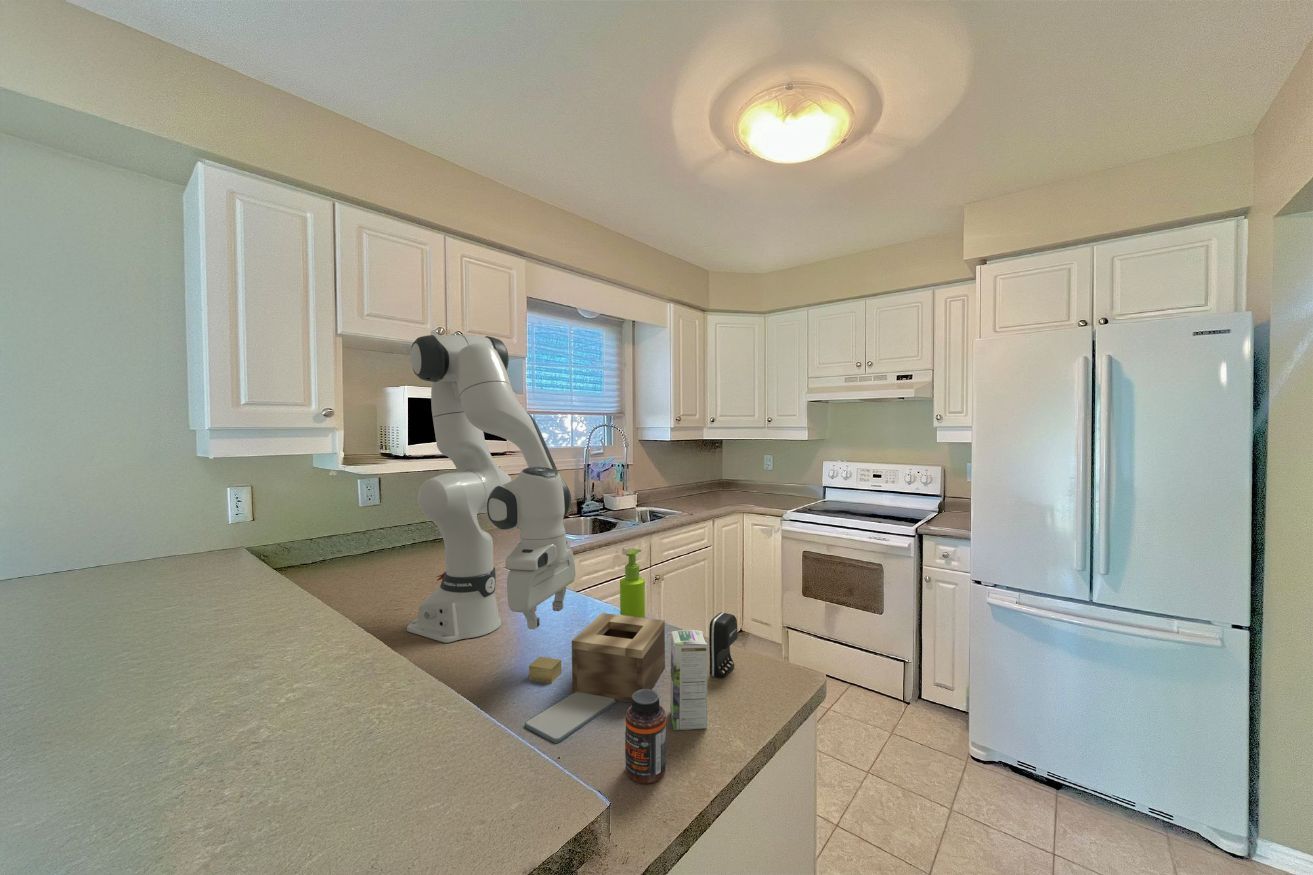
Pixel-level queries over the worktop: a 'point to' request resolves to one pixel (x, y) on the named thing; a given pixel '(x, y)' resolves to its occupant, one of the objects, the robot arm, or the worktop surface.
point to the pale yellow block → (545, 669)
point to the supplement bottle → (645, 737)
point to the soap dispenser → (632, 589)
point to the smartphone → (568, 715)
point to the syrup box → (689, 679)
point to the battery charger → (721, 644)
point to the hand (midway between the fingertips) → (546, 618)
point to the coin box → (618, 656)
